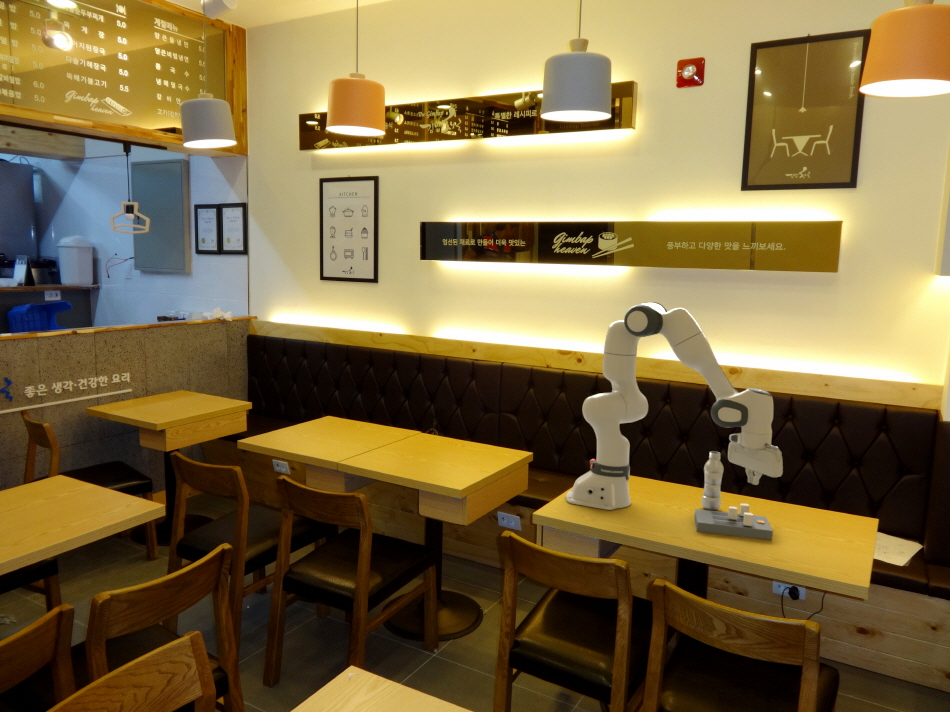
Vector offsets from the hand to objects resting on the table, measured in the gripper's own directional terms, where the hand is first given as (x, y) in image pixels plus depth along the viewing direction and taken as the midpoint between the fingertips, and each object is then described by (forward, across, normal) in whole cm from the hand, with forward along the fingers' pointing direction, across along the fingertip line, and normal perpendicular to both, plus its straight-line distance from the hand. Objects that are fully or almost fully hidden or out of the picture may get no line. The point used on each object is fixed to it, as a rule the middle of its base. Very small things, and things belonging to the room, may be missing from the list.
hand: (753, 483), depth 220 cm
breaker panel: (+15, +3, +4) cm, 16 cm away
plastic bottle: (+15, +21, -2) cm, 26 cm away
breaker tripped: (+12, +3, +4) cm, 13 cm away
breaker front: (+12, -3, +4) cm, 13 cm away
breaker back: (+12, +5, -2) cm, 13 cm away
